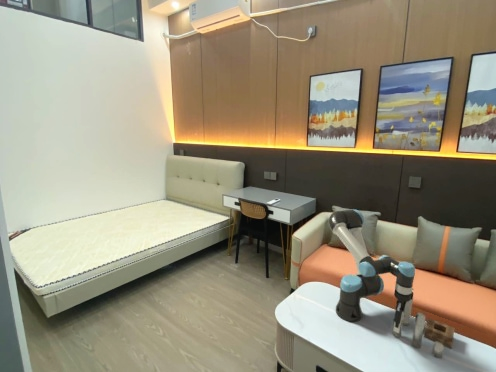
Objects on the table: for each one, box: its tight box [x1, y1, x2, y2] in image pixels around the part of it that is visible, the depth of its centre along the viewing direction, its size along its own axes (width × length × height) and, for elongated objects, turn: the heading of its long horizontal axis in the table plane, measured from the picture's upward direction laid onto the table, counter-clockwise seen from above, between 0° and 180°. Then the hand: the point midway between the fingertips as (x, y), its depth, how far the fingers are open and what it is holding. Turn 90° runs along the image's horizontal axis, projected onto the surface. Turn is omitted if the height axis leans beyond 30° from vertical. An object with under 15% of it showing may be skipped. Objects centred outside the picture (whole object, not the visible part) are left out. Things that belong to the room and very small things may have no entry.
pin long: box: [411, 312, 426, 349], centre depth 136 cm, size 4×4×18 cm
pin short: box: [431, 341, 445, 359], centre depth 132 cm, size 4×4×6 cm
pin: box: [392, 311, 404, 338], centre depth 142 cm, size 4×4×14 cm
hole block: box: [423, 317, 456, 350], centre depth 143 cm, size 12×10×6 cm
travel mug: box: [402, 291, 414, 326], centre depth 153 cm, size 6×7×20 cm
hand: (397, 328), depth 143 cm, fingers closed on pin, 4 cm apart
